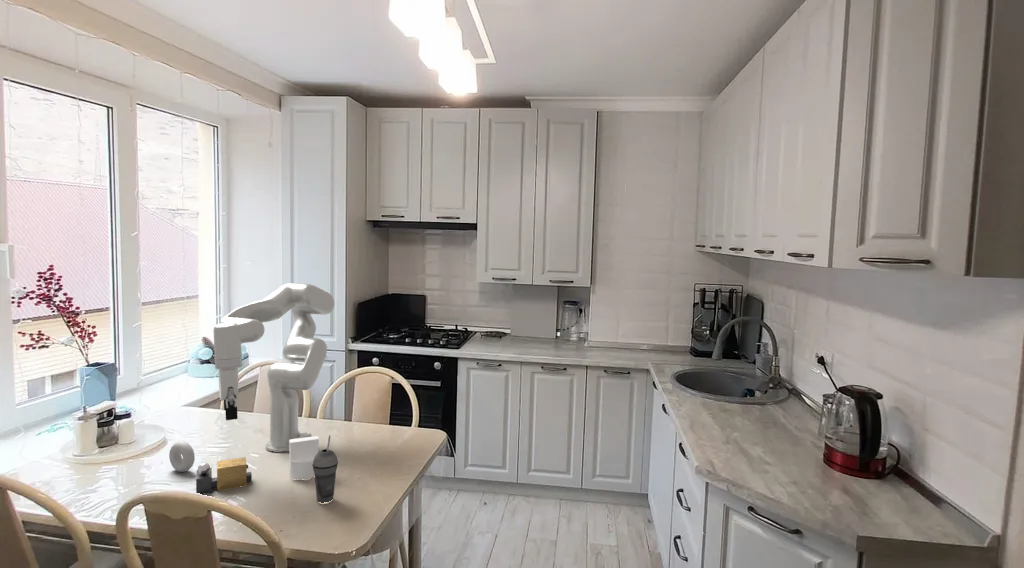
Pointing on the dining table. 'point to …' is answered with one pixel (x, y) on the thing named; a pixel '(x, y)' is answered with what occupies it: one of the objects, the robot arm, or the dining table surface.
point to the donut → (176, 456)
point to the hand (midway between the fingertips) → (230, 414)
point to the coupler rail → (209, 479)
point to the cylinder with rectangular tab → (302, 457)
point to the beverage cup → (325, 474)
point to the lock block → (231, 473)
